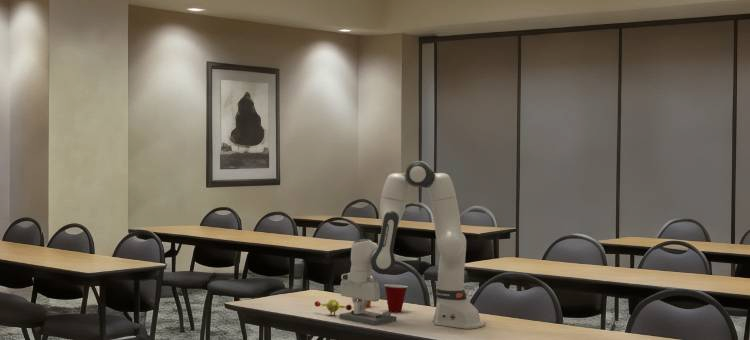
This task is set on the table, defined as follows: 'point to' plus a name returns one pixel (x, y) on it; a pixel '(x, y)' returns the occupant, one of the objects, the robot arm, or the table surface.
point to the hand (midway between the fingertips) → (359, 309)
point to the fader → (358, 307)
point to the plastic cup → (395, 297)
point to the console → (369, 317)
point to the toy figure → (332, 306)
